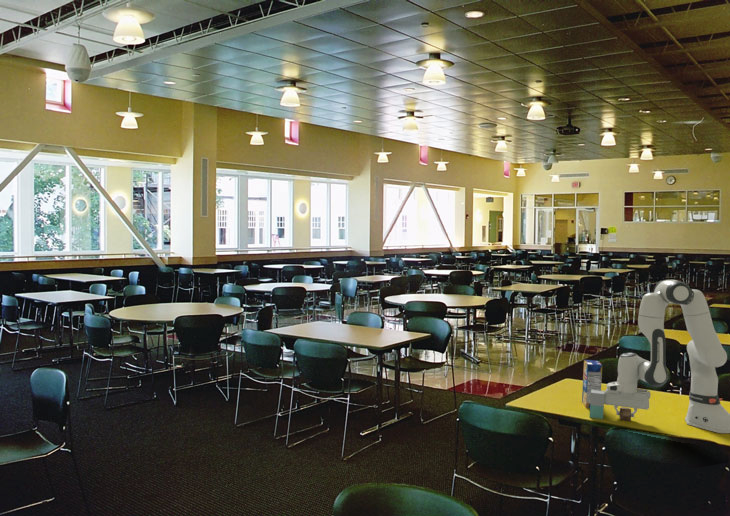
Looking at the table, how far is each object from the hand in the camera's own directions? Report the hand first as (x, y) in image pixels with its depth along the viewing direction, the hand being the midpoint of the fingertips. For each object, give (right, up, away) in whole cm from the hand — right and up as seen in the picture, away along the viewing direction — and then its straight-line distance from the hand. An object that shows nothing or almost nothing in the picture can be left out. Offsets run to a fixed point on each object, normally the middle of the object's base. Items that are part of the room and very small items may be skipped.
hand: (625, 415), depth 294 cm
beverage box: (-8, 0, +23) cm, 24 cm away
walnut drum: (0, -2, 0) cm, 2 cm away
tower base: (-12, -1, +3) cm, 13 cm away
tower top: (-12, +5, +3) cm, 13 cm away
